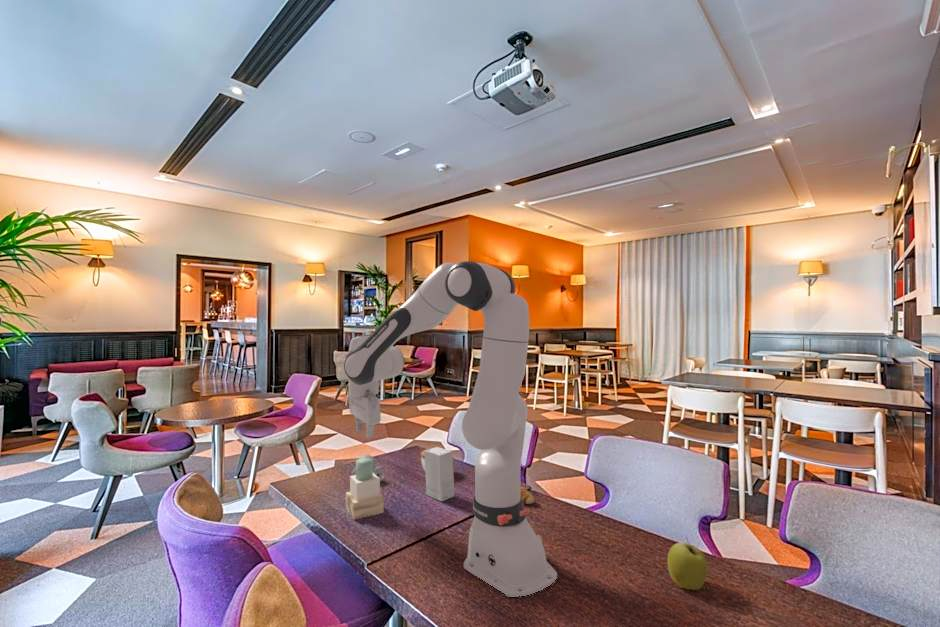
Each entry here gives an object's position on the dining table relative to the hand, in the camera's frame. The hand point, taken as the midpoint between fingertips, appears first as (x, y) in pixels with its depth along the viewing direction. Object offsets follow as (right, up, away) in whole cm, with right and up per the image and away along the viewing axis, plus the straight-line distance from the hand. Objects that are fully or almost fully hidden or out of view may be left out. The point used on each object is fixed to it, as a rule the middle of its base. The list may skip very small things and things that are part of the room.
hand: (364, 434), depth 127 cm
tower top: (0, -18, 0) cm, 18 cm away
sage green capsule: (0, -13, 0) cm, 13 cm away
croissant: (+43, -23, +8) cm, 50 cm away
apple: (+79, -22, -36) cm, 90 cm away
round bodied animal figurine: (-4, -24, +23) cm, 33 cm away
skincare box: (+22, -23, +10) cm, 33 cm away
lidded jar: (+19, -24, +30) cm, 43 cm away
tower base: (0, -23, 0) cm, 23 cm away
